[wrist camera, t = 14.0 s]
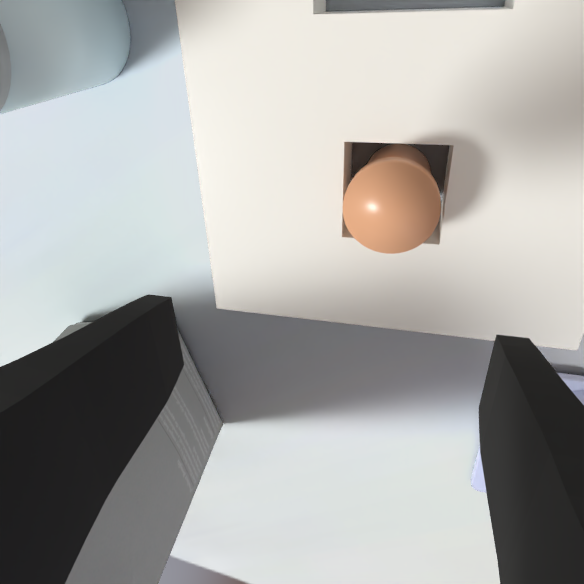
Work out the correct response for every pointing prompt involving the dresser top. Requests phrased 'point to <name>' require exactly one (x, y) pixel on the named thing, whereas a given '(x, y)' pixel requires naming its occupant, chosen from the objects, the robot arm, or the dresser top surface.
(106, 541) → the skincare box
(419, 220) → the tan round piece
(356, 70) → the housing
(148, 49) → the dresser top surface
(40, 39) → the cup
